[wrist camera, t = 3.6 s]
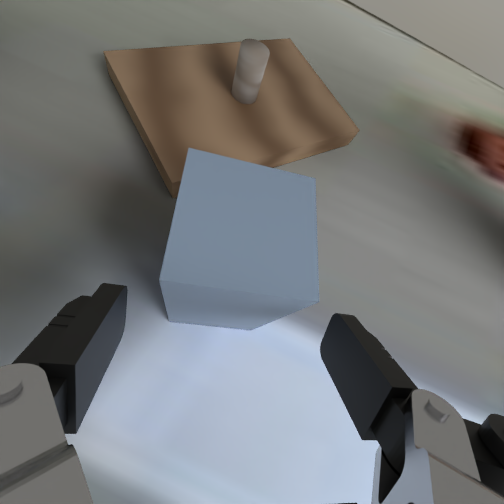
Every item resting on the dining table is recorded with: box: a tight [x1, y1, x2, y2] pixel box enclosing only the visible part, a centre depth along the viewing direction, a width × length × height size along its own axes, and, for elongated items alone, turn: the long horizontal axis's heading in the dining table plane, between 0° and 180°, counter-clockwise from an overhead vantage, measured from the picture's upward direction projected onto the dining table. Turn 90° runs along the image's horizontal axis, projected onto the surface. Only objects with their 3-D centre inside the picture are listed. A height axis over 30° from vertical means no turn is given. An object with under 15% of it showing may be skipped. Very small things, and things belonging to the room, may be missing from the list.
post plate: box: [103, 38, 359, 198], centre depth 23 cm, size 20×14×6 cm
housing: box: [159, 148, 319, 330], centre depth 14 cm, size 6×6×10 cm
